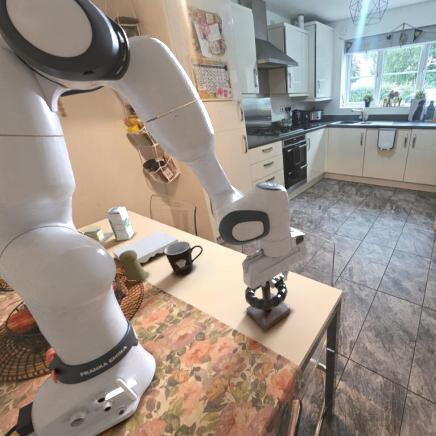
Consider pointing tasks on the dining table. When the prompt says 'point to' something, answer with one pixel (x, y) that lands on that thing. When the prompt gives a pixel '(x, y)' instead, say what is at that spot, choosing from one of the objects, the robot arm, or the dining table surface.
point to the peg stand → (271, 315)
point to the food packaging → (148, 246)
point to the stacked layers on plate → (95, 233)
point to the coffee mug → (181, 257)
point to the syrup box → (120, 223)
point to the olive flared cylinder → (132, 267)
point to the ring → (267, 303)
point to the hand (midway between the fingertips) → (278, 283)
